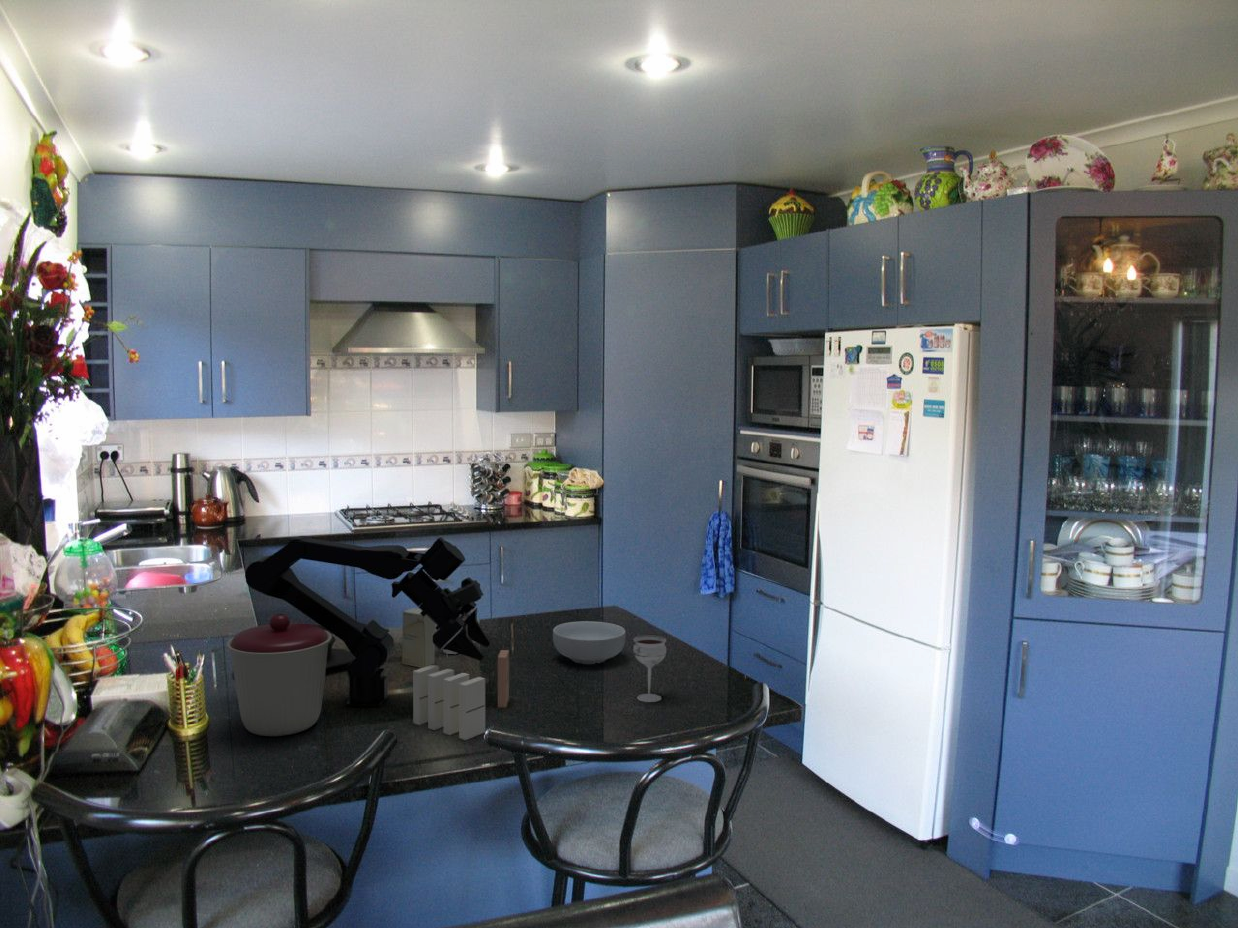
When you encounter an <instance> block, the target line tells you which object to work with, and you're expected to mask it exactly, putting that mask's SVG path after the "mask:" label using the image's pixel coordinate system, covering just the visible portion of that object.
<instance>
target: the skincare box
mask: <svg viewBox="0 0 1238 928" xmlns="http://www.w3.org/2000/svg"><path fill="white" fill-rule="evenodd" d="M421 612H422V610H421V609H420V608H419V607H411V608H409V609H405V610H402V638H401V639H402V640H401V643H402V644H401V646H402V647H401V648H402V651H401V652H402V653H401V659H402V660H401V664H403V665H406V666H409V667H410V666H411V667H414V668H415V667H416V668H418V669H421V668H424V667H427V666H430V665H435V656H436V655H435V653H436V650H435V648H436V645H435V644H434V643H433V635H434V633H435V632H436V628H435V627H436V624H435V623H434V622H433V621H432V620H431V619H430V618H429V617H428V616H427V615H425V616H424V617H423V616H422V615H421V614H420V613H421Z"/></svg>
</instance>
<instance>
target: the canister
mask: <svg viewBox="0 0 1238 928" xmlns="http://www.w3.org/2000/svg"><path fill="white" fill-rule="evenodd" d="M290 619H291V618H290V617H289V616H288V615H287V614H285V613H276V614H273V615H272V616H270V618H269V624H268V623H267V624H262V625H257V626H254V627H253V626H252V627H250V628H247V629H244V630H242V631H240V632H238V633H237V634H236V635H235V636H233V637H231V638H230V639H228V641H227V642H226V645H225V646H226V648H227V650H228V651H229V652H230V656H231V663H232V664H231V665H232V669H233V677H234V686H235V692H236V697H237V703H238V708H239V709H238V710H239V714H240V720H241V722H242V724H243V726H244V728H245V729H246V730H247V731H248V732H250V733H251V734H254V735H257V736H261V737H262V736H263V737H264V736H265V737H282V736H288V735H289V736H290V735H292V734H293V735H294V734H297V733H301V732H303V731H306V730H308V729H309V728H311V727H312V726H313V725H315V724H316V723H317V722H318V719H319V717H320V715H321V711H322V705H323V698H324V691H325V690H324V689H325V681H326V680H325V679H326V661H327V650H328V643H329V642H330V641H331V639H332V636H333V634H332V635H331V634H330V633H329V632H328V631H326V630H323V629H322V628H320V627H318V626H315V625H316V624H310V623H304V622H291V620H290Z"/></svg>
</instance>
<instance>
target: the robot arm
mask: <svg viewBox="0 0 1238 928" xmlns="http://www.w3.org/2000/svg"><path fill="white" fill-rule="evenodd" d="M300 560H307V561H313V562H320V563H326V564H332V565H333V564H334V565H340V566H344V567H351V568H357V569H361V570H363V571H365V572H367V573H369V574H371V575H374V576H376V577H379V578H381V579H386V580H395V581H393V582H392V583H391V585H390V586H391V598H394V599H395V598H396V597H397V596H398V595H400V593H401V592H402V593H403V594H404V595H405V596H406V597H407V598H408V599H409V600H411V601H412V603H413V604H414V605H415V606H417V608H419V609H421V610H422V612H421V613H420V614H421V615H422V616H423V617H424V616H425V615H427V616H428V617H429V618H430V619H431V620H432V621H433V622H434V623H435V633H434V635H433V643H434V644H435V647H436V648H438V649H439V650H441V649H442V650H443V649H444V650H449V651H453V652H456V653H457V654H460V655H463V656H464V657H465V656H466V657H468V658H471V659H473V660H477V661H482V660H483V659H484V658H485V656H484V654H483V653H482V651H481V650H480V648H479V647H478V646H477V644H479V645H481V646H484V647H485V648H488V647H489V646H490V645H491V641H490V640H489V638H488V635H486V633H485V631H484V629H483V627H482V625H480V623H479V621H478V608H477V603H476V602H477V601H479V600H481V599H482V596H484V593H483V591H482V589H481V584H480V582H478V581H477V579H475V580H473V579H472V578H471V577H466V578H464V579H462V580H461V584H460V587H458V588H456V589H454V590H453V591H451V590H450V589H449V588H448V587H444V588H442V587H441V586H440V585H439V584H438V583H437V581H439V580H441V581H446V580H447V579H448V578H449V577H450V576H451V575H452V574H453V573H454V572H455V571H456V570H457V569H458V568H460V566H462V564H464V562H465V561H466V558H465V556H464V554H463V553H462V551H461V550H460V549H459V548H458V547H457V546H456V545H453V544H452V543H450V542H449V541H447V540H445V539H444V538H443V537H442V536H439V537H438V538H437V539H436V540H435V541H434V542H433V544H432V545H431V546H430V547H429V548H428V550H426V552H417V551H409V550H408V549H407V548H406V547H404V546H402V545H399V544H396V545H395V544H394V545H392V544H391V545H389V544H388V545H387V544H386V545H373V546H362V545H356V544H349V543H343V542H336V541H329V540H325V539H318V538H312V537H311V538H310V537H308V536H306V535H300V536H297V537H295V538H293V539H290V541H289V542H288V543H287V544H285V545H284V546H283V547H282V548H281V549H279V550H277V551H276V552H274V553H273V554H271V555H265V556H263V557H261V558H259V559H258V560H255V561H254V562H252V563H250V564H249V565H248V566H247V567H246V569H245V575H244V578H245V582H246V584H247V586H248V587H249V588H251V589H252V590H254V591H257V592H259V593H261V594H263V595H266V596H268V597H272V598H276V599H280V600H282V601H285V602H286V603H287V604H289V605H290V606H292V607H293V608H294V609H296V610H298V611H299V612H301V614H303V615H305V616H306V617H308V618H309V619H311V620H312V621H313V622H315V623H317V625H320V626H322V627H324V628H325V629H327V630H328V631H329V632H331V633H332V635H333V636H334V637H337V638H338V639H339V640H340V641H342V642H343V643H344V644H345V646H346V648H347V649H348V651H349V652H351V654H352V655H353V656H354V659H353V660H352V661H351V662H350V663H348V664H347V666H346V668H345V669H346V672H347V675H348V678H349V679H348V681H349V682H348V686H349V688H348V690H349V692H348V695H349V696H348V697H349V699H348V701H347V702H346V706H347V707H380V706H381V705H382V704H383V702H384V701H385V700H386V698H388V695H389V694H388V676H386V675H385V668H383V665H385V663H386V662H387V661H388V659H389V658H390V657H391V656H392V654H393V653H394V652H395V651H394V650H395V640H394V637H393V636H392V635H391V634H390V633H389V632H390V629H387V628H384V627H382V626H381V625H380V624H379V623H378V622H377V621H376V620H374V619H371V620H370V621H369V622H368V623H367V624H366V623H363V622H359V621H357V619H354V618H353V617H351V616H350V615H349V614H347V613H345V612H344V611H343V610H341V609H339V607H337V606H335V605H334V604H333V603H331V602H330V601H328V600H327V599H325V598H324V597H323V596H320V595H319V594H318V593H317V592H315V591H314V590H312V589H311V588H309V587H308V585H306V584H303V582H301V580H299V579H298V577H297V575H296V574H295V572H294V570H293V569H292V568H291V567H292V566H294V564H296V563H298V562H299V561H300ZM419 565H421V567H420V568H419V569H418V570H417V571H416V572H415V573H414V572H412V571H414V570H415V569H416V568H417V567H418V566H419ZM404 573H406V574H405V576H404V577H402V578H401V579H400V581H396V579H398V578H399V577H401V576H402V575H403V574H404ZM474 608H475V610H474V611H473V612H471V610H472V609H474ZM472 640H473V641H475V643H474V642H473V641H472ZM446 643H447V644H446ZM476 643H477V644H476ZM445 644H446V645H445ZM444 645H445V646H444ZM443 646H444V648H443ZM381 667H382V668H381Z"/></svg>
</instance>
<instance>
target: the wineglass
mask: <svg viewBox="0 0 1238 928" xmlns="http://www.w3.org/2000/svg"><path fill="white" fill-rule="evenodd" d="M633 642H634V645H633V648H632V653H633V656H634V658H635V659H636V660H637V661H638V662H639V663H640V664H642V665H644V666H645V668H647V693H642V694H639V695H638V696H636V699H637V700H638V701H640V702H645V703H655V702H659V701H661V700H662V697H661V695H658V694H655V693H651V685H652V683H651V682H652V668H653V667H655V665H656V666H657V665H658V664H660V663H661V662H662V661H663V660H664V659H665V657H666V654H667V650H668V649H667V646H666V645H665V644H666V642H667V639H666V638H665V637H663V636H658V635H651V634H650V635H649V634H648V635H639V636H636V637H634V638H633Z"/></svg>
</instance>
